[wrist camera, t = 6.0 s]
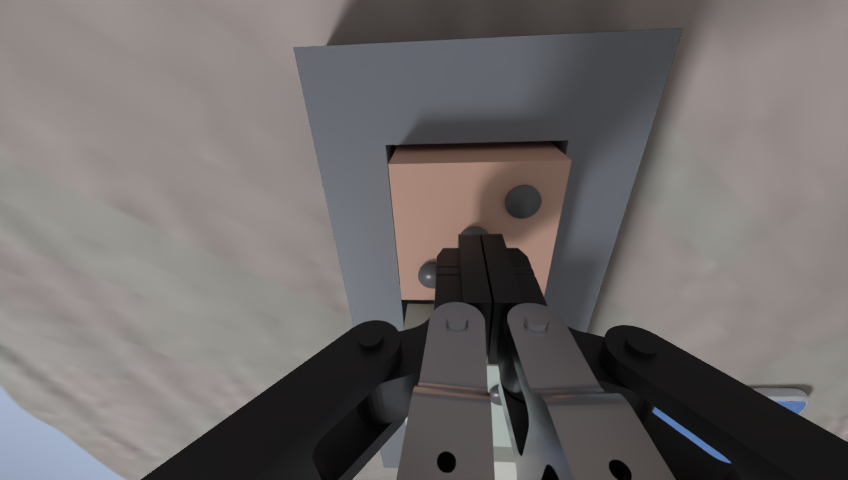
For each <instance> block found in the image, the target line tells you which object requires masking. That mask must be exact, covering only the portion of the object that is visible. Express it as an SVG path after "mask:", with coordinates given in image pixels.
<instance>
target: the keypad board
mask: <svg viewBox="0 0 848 480" xmlns="http://www.w3.org/2000/svg"><path fill="white" fill-rule="evenodd" d="M682 30H683V28H674V29H653V30H633V31H613V32H593V33H573V34H553V35H533V36H513V37H493V38H473V39H453V40H433V41H413V42H393V43H372V44H352V45H332V46H312V47H293V48H294V53H295V58H296V62H297V67H298V72H299V76H300V81H301V85H302V90H303V95H304V99H305V104H306V109H307V113H308V118H309V122H310V127H311V132H312V136H313V141H314V146H315V150H316V155H317V160H318V164H319V169H320V173H321V178H322V183H323V187H324V192H325V197H326V201H327V206H328V210H329V215H330V220H331V224H332V229H333V234H334V238H335V243H336V248H337V252H338V257H339V261H340V266H341V271H342V275H343V280H344V285H345V289H346V294H347V299H348V303H349V308H350V312H351V317H352V322H353V326H354V327H355V326H356V325H358V324H360V323H363V322H366V321H371V320H381V321H386V322H388V323H390V324H392V325H393V326H395V327H396V328H397V330H398V331H403V329H404V323H405V316H406V310H407V304H435V300H402V297H401V287H400V277H399V267H398V258H397V248H396V238H395V228H394V218H393V208H392V198H391V188H390V178H389V168H388V164H389V162H390V160H391V158H392V156H393V154H394V152H395V150H396V148H397V146H398V145H406V144H445V143H484V142H523V141H550V142H551V143H552V144H553V145H554V146H555V147H557V148H558V149H559V150H560V151H561V152H562V153H564V154H565V155H566V156H567V157H568V158H570V159H571V160H572V162H571V166H570V171H569V176H568V181H567V186H566V191H565V196H564V201H563V206H562V211H561V216H560V221H559V225H558V230H557V235H556V240H555V245H554V250H553V255H552V260H551V265H550V270H549V275H548V280H547V285H546V289H545V294H544V299H545V301H546V304H547V306H548V307H549V308H551V309H553V310H554V311H556V312H557V313H558V314H559V315H560V316H561V317H562V318H563V320H564V321H565V323H566V325H567V326H568V327H570V328H573V329H575V330H578V331H581V332H585V333H586V332H587V329H588V326H589V323H590V320H591V317H592V314H593V310H594V307H595V304H596V301H597V298H598V295H599V292H600V288H601V285H602V282H603V279H604V276H605V273H606V270H607V266H608V263H609V260H610V257H611V254H612V251H613V247H614V244H615V241H616V238H617V235H618V232H619V229H620V225H621V222H622V219H623V216H624V213H625V210H626V207H627V203H628V200H629V197H630V194H631V191H632V188H633V185H634V181H635V178H636V175H637V172H638V169H639V166H640V163H641V159H642V156H643V153H644V150H645V147H646V144H647V140H648V137H649V134H650V131H651V128H652V125H653V122H654V118H655V115H656V112H657V109H658V106H659V103H660V100H661V96H662V93H663V90H664V87H665V84H666V81H667V78H668V74H669V71H670V68H671V65H672V62H673V59H674V56H675V52H676V49H677V46H678V43H679V40H680V37H681V33H682ZM405 430H406V422H405V421H404V423H403V424H402V425H401V427H400V428H399V429H398V430H397V431H396V432H395V433H394V434H393V435H392V436H391V438H390V439H389V440H388V441H387V442H386V443H385V444H384V445H383V446H382V447H381V449H380V451H381V456H382V461H383V465H384V467H387V468H399V462H400V457H401V451H402V446H403V441H404V435H405Z"/></svg>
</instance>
